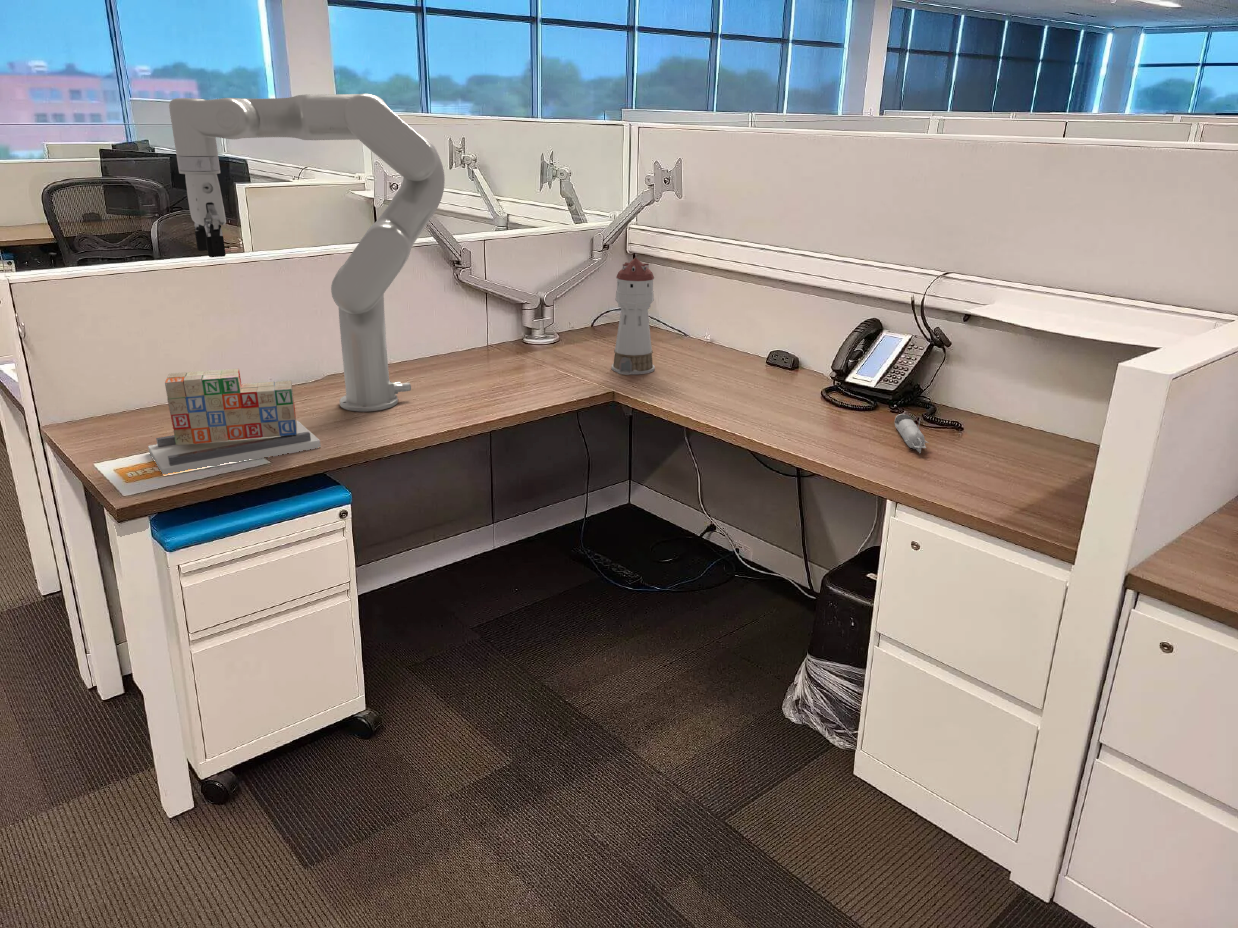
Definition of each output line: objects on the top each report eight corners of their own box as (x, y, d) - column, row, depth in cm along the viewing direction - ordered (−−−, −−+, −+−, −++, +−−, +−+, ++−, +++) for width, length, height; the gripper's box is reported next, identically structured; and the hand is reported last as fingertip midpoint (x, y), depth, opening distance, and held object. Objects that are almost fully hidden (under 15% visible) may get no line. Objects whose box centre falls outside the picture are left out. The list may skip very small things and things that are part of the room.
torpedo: (888, 426, 193) (892, 397, 191) (910, 427, 193) (914, 398, 191) (907, 456, 177) (912, 425, 174) (932, 457, 176) (937, 426, 174)
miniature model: (655, 364, 237) (660, 249, 226) (652, 376, 226) (657, 256, 215) (614, 362, 238) (616, 247, 227) (608, 374, 227) (610, 254, 216)
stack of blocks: (297, 425, 177) (290, 364, 172) (297, 435, 171) (290, 373, 167) (179, 434, 170) (168, 372, 166) (174, 445, 165) (163, 381, 160)
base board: (298, 427, 184) (297, 413, 183) (320, 447, 174) (319, 433, 173) (149, 453, 169) (146, 438, 168) (163, 476, 159) (160, 461, 158)
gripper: (229, 168, 172) (241, 258, 179) (209, 163, 185) (220, 247, 192) (187, 168, 168) (201, 260, 175) (169, 163, 181) (183, 249, 188)
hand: (211, 253), depth 183 cm, fingers open, 9 cm apart
